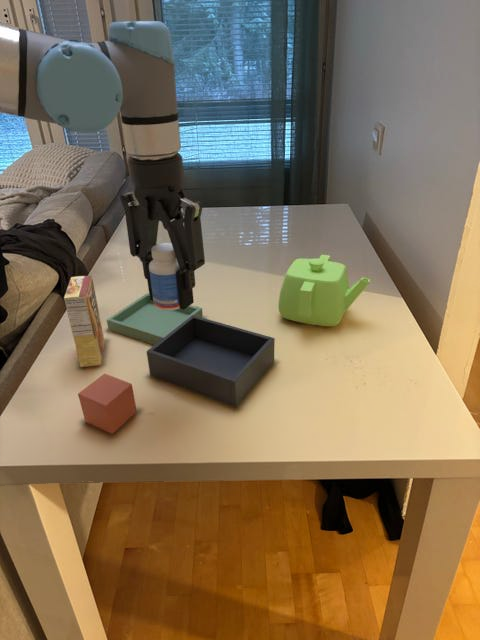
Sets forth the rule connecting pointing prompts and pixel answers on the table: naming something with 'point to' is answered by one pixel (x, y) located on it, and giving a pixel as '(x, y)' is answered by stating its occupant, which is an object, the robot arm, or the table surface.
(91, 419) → the block
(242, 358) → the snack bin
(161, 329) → the medicine tray
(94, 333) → the candy box
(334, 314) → the teapot
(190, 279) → the robot arm
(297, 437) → the table surface
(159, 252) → the pill bottle
